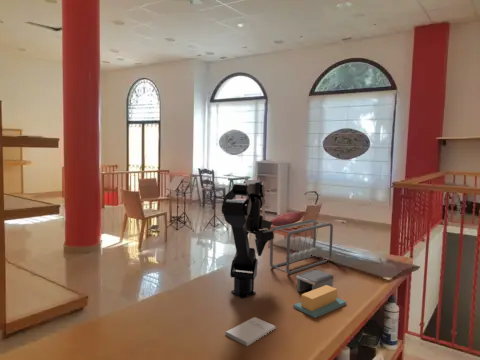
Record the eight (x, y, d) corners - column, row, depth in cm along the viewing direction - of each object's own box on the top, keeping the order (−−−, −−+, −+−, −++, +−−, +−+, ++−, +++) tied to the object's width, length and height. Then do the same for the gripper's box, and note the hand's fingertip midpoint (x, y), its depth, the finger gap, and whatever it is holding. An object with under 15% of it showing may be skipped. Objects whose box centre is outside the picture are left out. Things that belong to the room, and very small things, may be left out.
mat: (315, 318, 115) (315, 314, 115) (293, 307, 122) (293, 304, 122) (346, 304, 125) (346, 301, 125) (324, 295, 132) (324, 292, 132)
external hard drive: (225, 336, 105) (253, 321, 114) (247, 348, 99) (275, 330, 108) (225, 331, 104) (253, 316, 113) (247, 342, 99) (275, 325, 108)
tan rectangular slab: (311, 311, 117) (312, 299, 117) (301, 306, 121) (301, 294, 120) (336, 300, 126) (337, 288, 125) (325, 296, 129) (326, 284, 129)
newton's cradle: (313, 255, 178) (315, 218, 176) (331, 260, 170) (333, 222, 168) (269, 268, 159) (270, 227, 157) (287, 275, 151) (288, 232, 149)
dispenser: (312, 298, 129) (313, 282, 128) (295, 291, 135) (296, 275, 134) (332, 291, 136) (332, 275, 135) (314, 284, 142) (315, 269, 141)
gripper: (285, 214, 139) (284, 255, 141) (253, 206, 154) (252, 243, 156) (262, 218, 133) (261, 260, 134) (231, 209, 147) (231, 248, 149)
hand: (251, 252), depth 144 cm, fingers open, 9 cm apart
